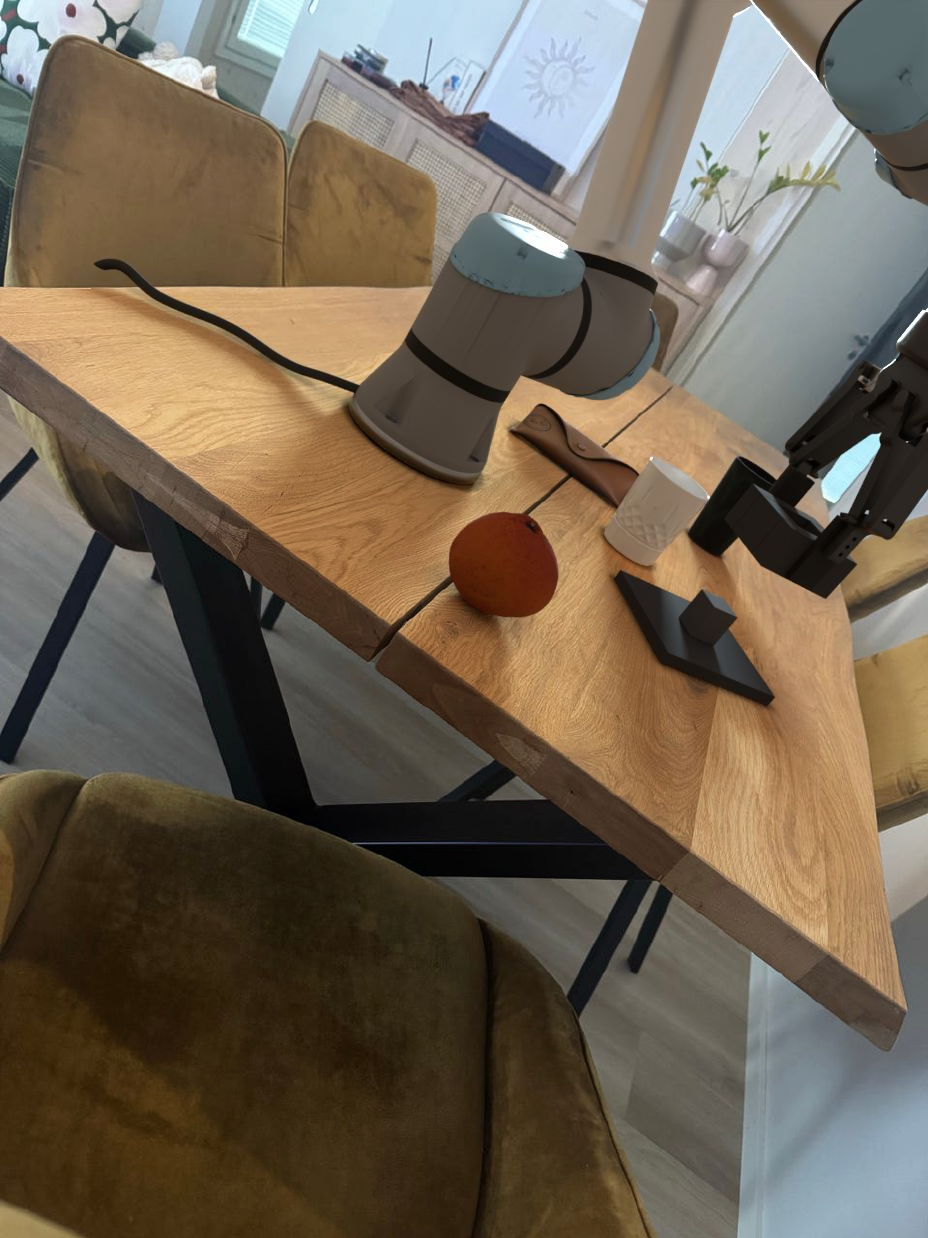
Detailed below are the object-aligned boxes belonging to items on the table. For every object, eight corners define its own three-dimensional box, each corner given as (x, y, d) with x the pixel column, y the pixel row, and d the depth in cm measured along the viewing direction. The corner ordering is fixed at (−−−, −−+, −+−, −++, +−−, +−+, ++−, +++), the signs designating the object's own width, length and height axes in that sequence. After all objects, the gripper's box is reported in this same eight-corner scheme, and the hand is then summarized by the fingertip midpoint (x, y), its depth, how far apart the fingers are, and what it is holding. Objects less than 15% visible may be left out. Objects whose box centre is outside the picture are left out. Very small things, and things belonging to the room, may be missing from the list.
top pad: (760, 566, 76) (792, 528, 74) (723, 518, 82) (752, 483, 81) (825, 599, 79) (858, 564, 78) (785, 551, 86) (814, 518, 84)
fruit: (499, 650, 68) (558, 567, 65) (414, 575, 70) (466, 491, 67) (544, 626, 76) (599, 551, 72) (466, 559, 78) (516, 483, 75)
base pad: (660, 662, 83) (694, 621, 81) (613, 578, 94) (642, 540, 92) (767, 706, 89) (802, 669, 87) (711, 622, 100) (740, 587, 98)
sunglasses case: (508, 426, 116) (539, 386, 117) (506, 443, 123) (535, 405, 124) (622, 510, 114) (654, 468, 115) (614, 522, 121) (643, 483, 122)
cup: (729, 568, 122) (788, 496, 117) (682, 537, 121) (739, 463, 116) (724, 548, 129) (780, 480, 124) (680, 519, 128) (734, 449, 123)
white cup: (661, 561, 108) (714, 493, 103) (648, 577, 101) (705, 504, 96) (607, 521, 109) (657, 452, 104) (591, 534, 102) (644, 460, 97)
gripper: (1090, 404, 64) (862, 640, 74) (925, 312, 81) (757, 515, 91) (1027, 355, 61) (798, 608, 71) (868, 270, 78) (701, 484, 88)
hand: (775, 556), depth 81 cm, fingers closed on top pad, 8 cm apart
